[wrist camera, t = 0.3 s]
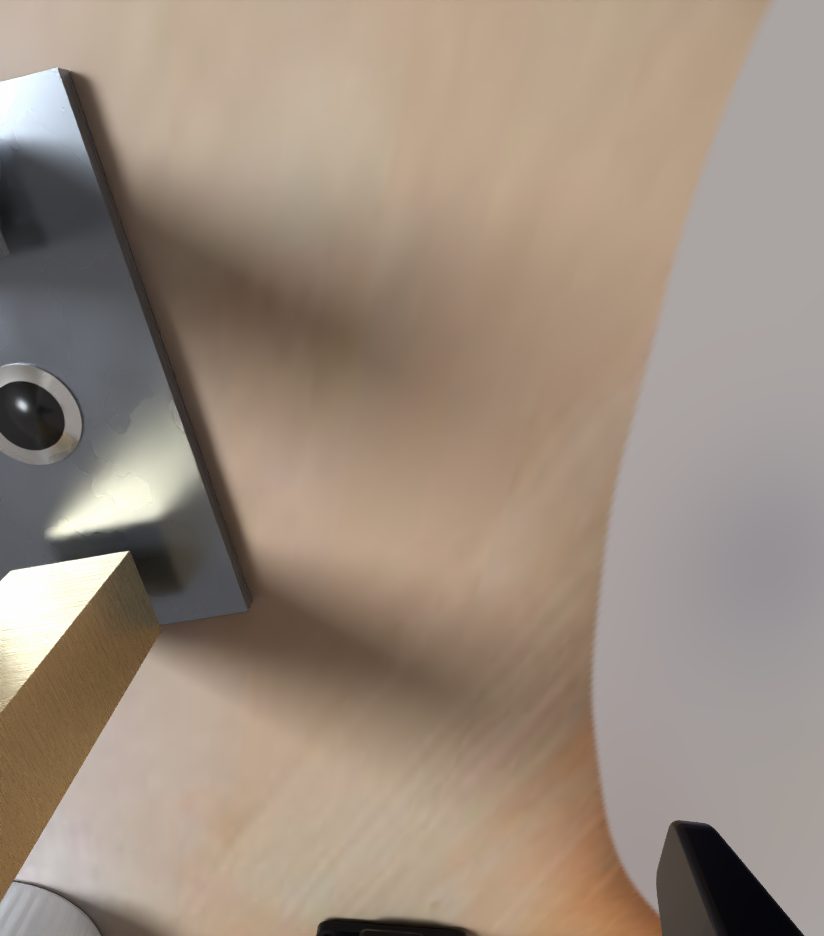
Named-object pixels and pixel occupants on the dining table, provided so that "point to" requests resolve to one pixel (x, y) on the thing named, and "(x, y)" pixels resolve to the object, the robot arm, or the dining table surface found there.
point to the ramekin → (41, 914)
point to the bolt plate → (92, 378)
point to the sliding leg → (61, 682)
